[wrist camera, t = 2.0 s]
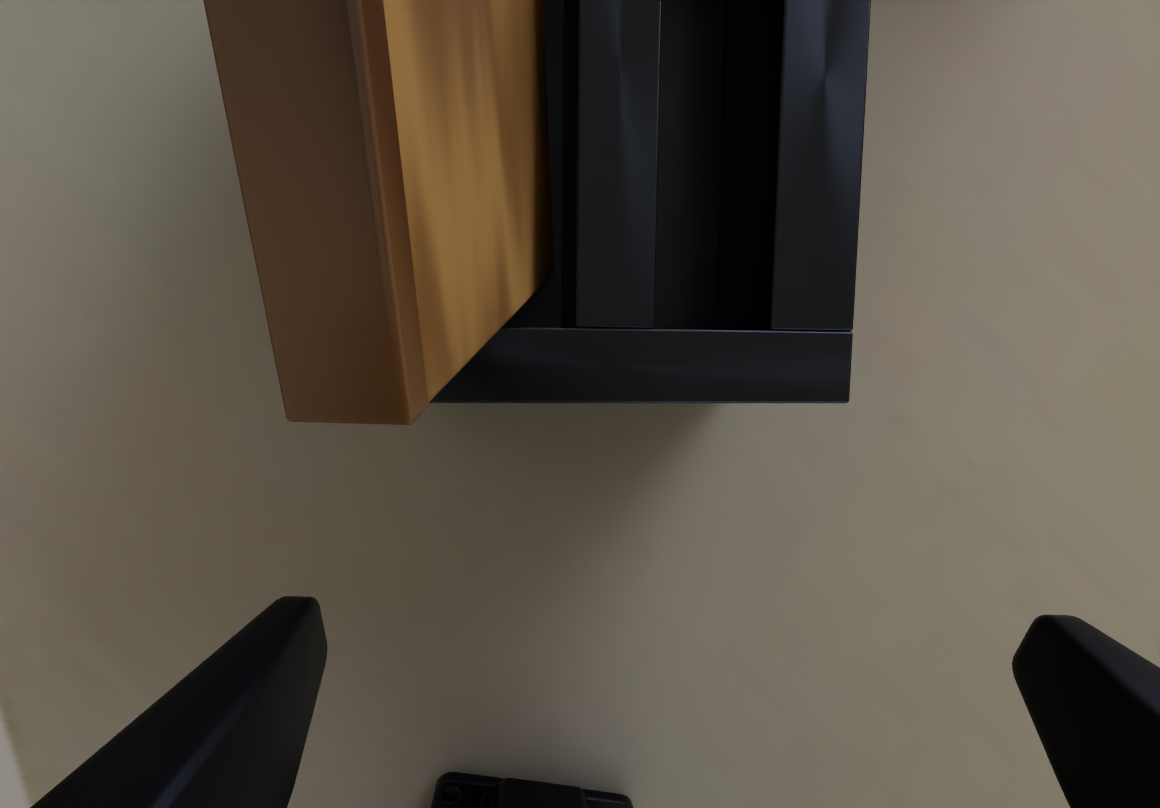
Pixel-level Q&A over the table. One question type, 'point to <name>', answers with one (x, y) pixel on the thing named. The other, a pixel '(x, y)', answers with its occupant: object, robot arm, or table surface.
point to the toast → (387, 187)
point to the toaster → (693, 207)
